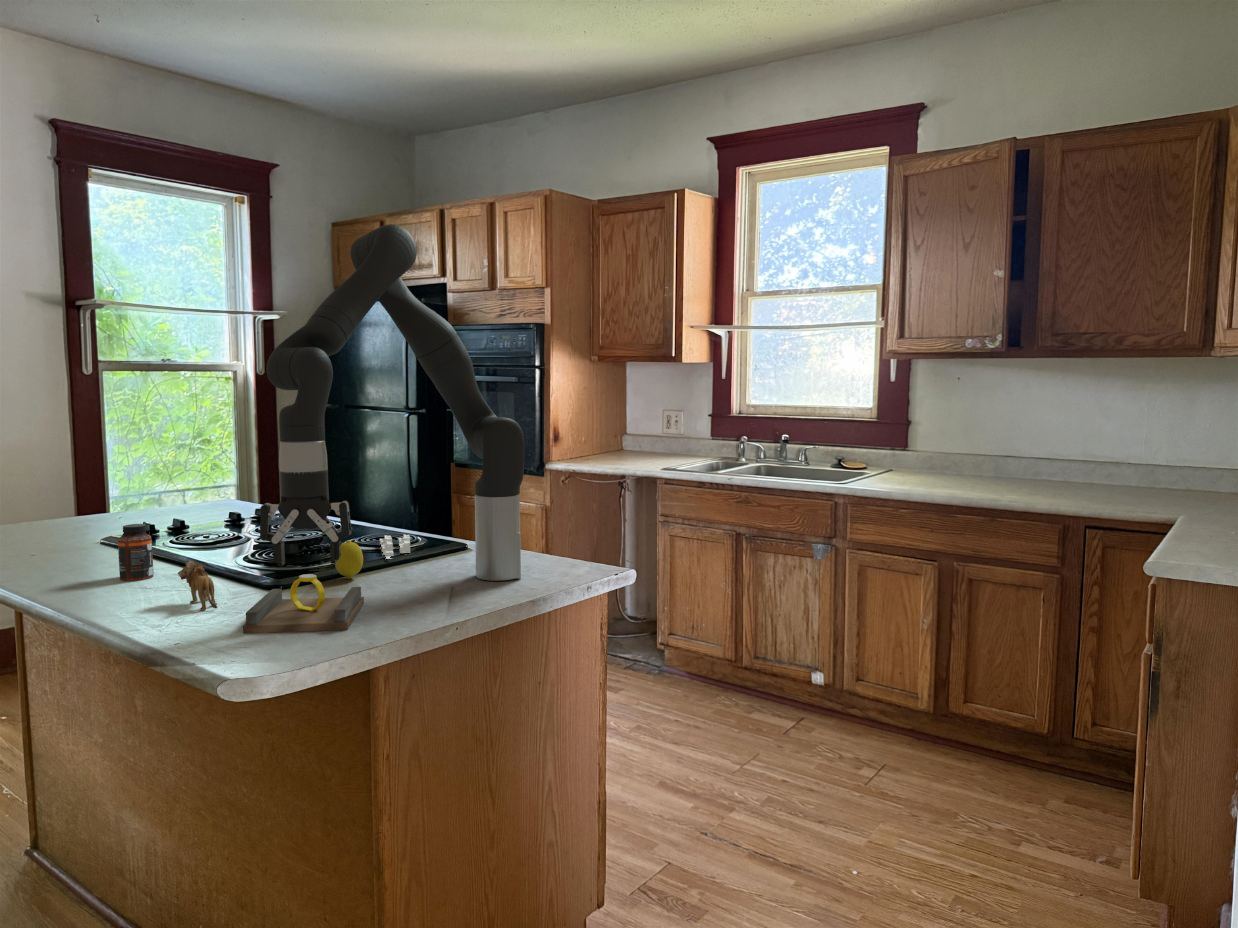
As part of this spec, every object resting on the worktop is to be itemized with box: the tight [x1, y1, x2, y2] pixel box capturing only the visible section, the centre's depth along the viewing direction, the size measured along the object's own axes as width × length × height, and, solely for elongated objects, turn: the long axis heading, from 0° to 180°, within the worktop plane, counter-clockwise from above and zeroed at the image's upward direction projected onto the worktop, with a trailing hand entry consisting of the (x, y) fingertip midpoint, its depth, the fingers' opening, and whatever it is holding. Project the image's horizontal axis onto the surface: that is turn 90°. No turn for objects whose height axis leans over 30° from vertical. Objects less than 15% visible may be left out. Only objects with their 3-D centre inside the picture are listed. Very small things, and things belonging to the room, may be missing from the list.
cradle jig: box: [242, 586, 365, 634], centre depth 143 cm, size 16×17×3 cm
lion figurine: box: [177, 560, 218, 611], centre depth 151 cm, size 12×4×7 cm, turn 49°
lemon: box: [334, 539, 364, 580], centre depth 172 cm, size 6×6×8 cm
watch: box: [289, 573, 326, 612], centre depth 143 cm, size 6×3×6 cm, turn 73°
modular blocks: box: [379, 534, 411, 560], centre depth 195 cm, size 20×7×4 cm, turn 19°
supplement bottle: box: [117, 523, 154, 582], centre depth 169 cm, size 6×6×11 cm
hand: (307, 563), depth 142 cm, fingers open, 8 cm apart
